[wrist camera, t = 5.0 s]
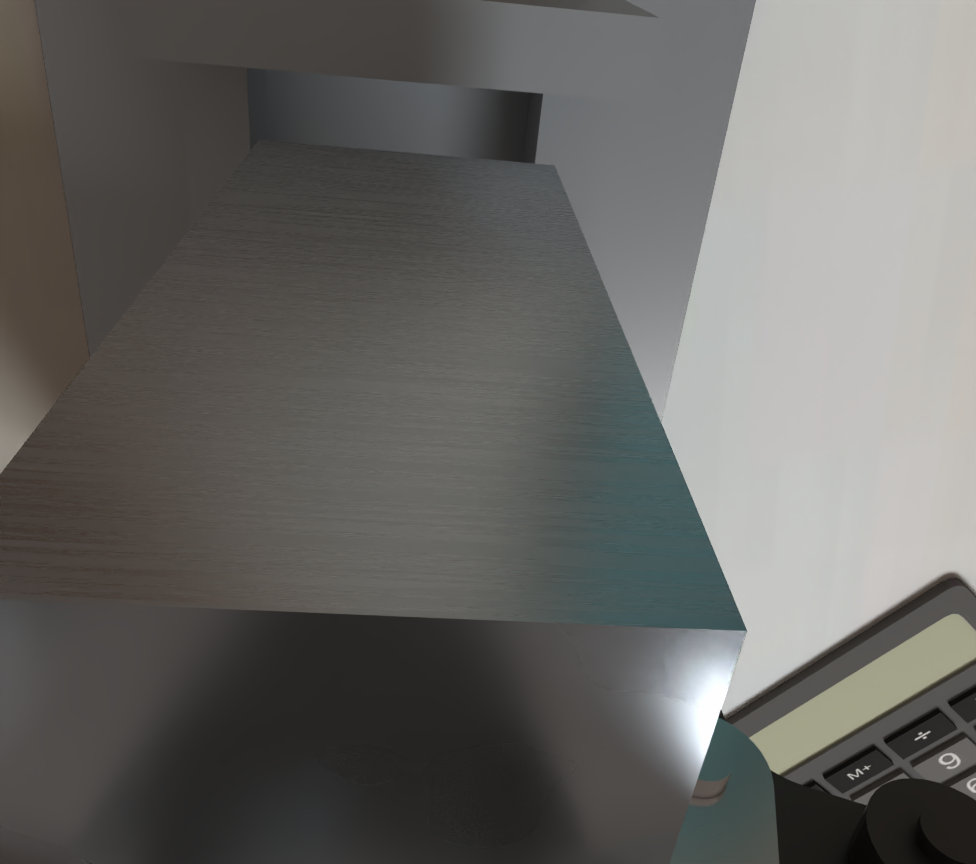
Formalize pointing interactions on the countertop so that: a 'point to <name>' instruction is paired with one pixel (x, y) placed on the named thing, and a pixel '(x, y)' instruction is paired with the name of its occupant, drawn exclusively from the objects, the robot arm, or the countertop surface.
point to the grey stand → (398, 120)
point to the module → (359, 546)
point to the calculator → (880, 705)
